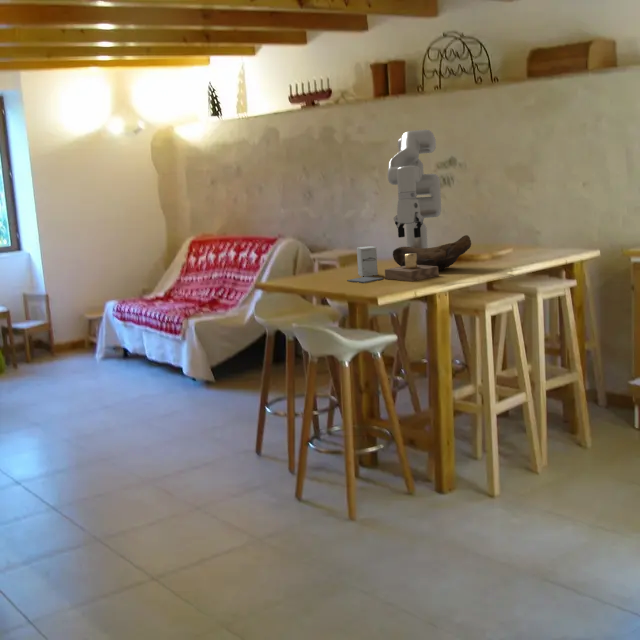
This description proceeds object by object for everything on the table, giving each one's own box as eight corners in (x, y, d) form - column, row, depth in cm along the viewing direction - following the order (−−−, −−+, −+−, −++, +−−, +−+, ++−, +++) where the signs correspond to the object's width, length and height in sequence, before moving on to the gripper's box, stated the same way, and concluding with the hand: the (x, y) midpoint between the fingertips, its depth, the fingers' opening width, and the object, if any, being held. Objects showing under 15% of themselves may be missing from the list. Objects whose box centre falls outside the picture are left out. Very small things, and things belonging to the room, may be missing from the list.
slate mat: (366, 277, 360) (366, 276, 360) (383, 279, 351) (383, 277, 351) (347, 281, 353) (347, 280, 353) (363, 283, 344) (363, 281, 344)
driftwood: (478, 268, 361) (477, 234, 359) (453, 274, 349) (451, 239, 346) (412, 265, 388) (411, 233, 385) (387, 271, 375) (385, 238, 373)
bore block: (412, 273, 362) (412, 264, 361) (438, 275, 349) (438, 266, 348) (385, 278, 352) (384, 269, 351) (411, 281, 340) (410, 271, 339)
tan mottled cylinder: (412, 276, 354) (410, 253, 352) (420, 276, 350) (418, 253, 348) (403, 277, 351) (402, 254, 349) (411, 278, 347) (410, 254, 345)
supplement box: (362, 277, 363) (360, 248, 361) (358, 275, 370) (356, 247, 368) (378, 275, 364) (376, 246, 362) (373, 273, 371) (372, 245, 369)
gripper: (428, 195, 339) (430, 236, 342) (399, 196, 353) (402, 236, 356) (415, 196, 335) (417, 238, 338) (386, 197, 349) (389, 238, 351)
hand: (409, 237), depth 347 cm, fingers open, 9 cm apart
